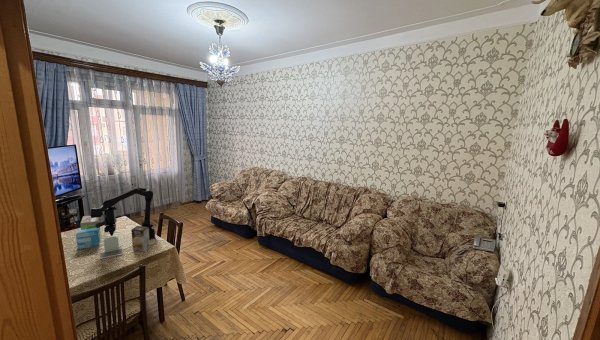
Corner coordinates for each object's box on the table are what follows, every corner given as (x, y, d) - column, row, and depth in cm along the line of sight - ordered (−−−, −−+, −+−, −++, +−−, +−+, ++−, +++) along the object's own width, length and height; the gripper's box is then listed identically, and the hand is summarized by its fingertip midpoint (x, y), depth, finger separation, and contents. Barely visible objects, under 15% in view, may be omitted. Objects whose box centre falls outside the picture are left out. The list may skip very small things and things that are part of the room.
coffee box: (132, 250, 179) (130, 229, 176) (138, 245, 185) (136, 225, 182) (144, 251, 179) (143, 230, 175) (150, 246, 185) (149, 226, 182)
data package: (77, 249, 176) (75, 233, 174) (78, 246, 180) (76, 230, 177) (99, 245, 183) (97, 229, 181) (99, 242, 187) (98, 227, 184)
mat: (122, 248, 181) (122, 247, 180) (121, 255, 172) (121, 254, 172) (101, 252, 174) (101, 251, 174) (99, 259, 166) (99, 259, 166)
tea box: (99, 239, 191) (97, 221, 188) (81, 242, 185) (79, 223, 182) (100, 231, 203) (98, 213, 200) (84, 233, 198) (82, 216, 194)
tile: (119, 247, 182) (117, 236, 180) (118, 248, 180) (117, 237, 178) (105, 250, 177) (103, 238, 175) (104, 251, 176) (103, 239, 174)
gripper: (96, 212, 183) (99, 232, 187) (93, 222, 168) (96, 243, 171) (115, 210, 189) (117, 229, 193) (114, 219, 174) (116, 240, 178)
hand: (111, 235), depth 183 cm, fingers closed
